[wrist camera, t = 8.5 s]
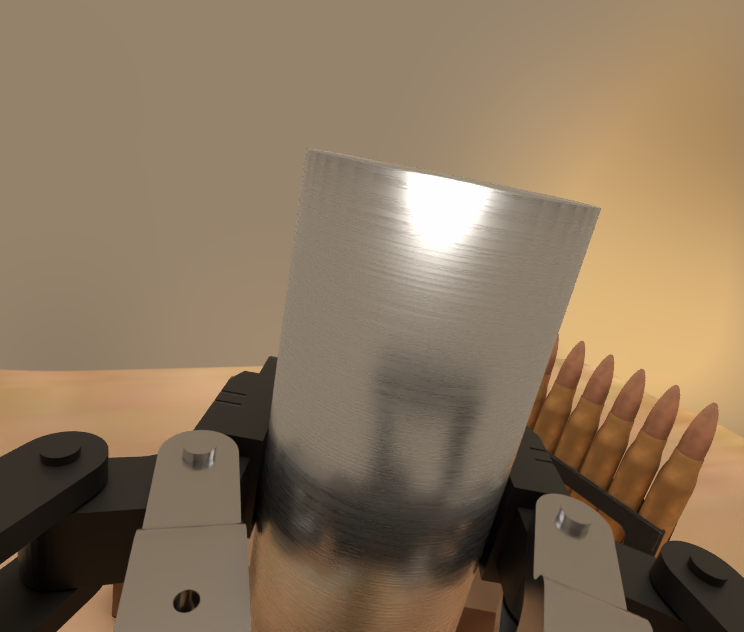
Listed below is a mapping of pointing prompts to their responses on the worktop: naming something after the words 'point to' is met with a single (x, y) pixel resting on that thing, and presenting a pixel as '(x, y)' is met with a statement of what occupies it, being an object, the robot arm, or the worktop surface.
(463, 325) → the steel pin
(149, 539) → the robot arm
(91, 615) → the worktop surface
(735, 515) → the worktop surface
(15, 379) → the worktop surface
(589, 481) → the ammunition clip
